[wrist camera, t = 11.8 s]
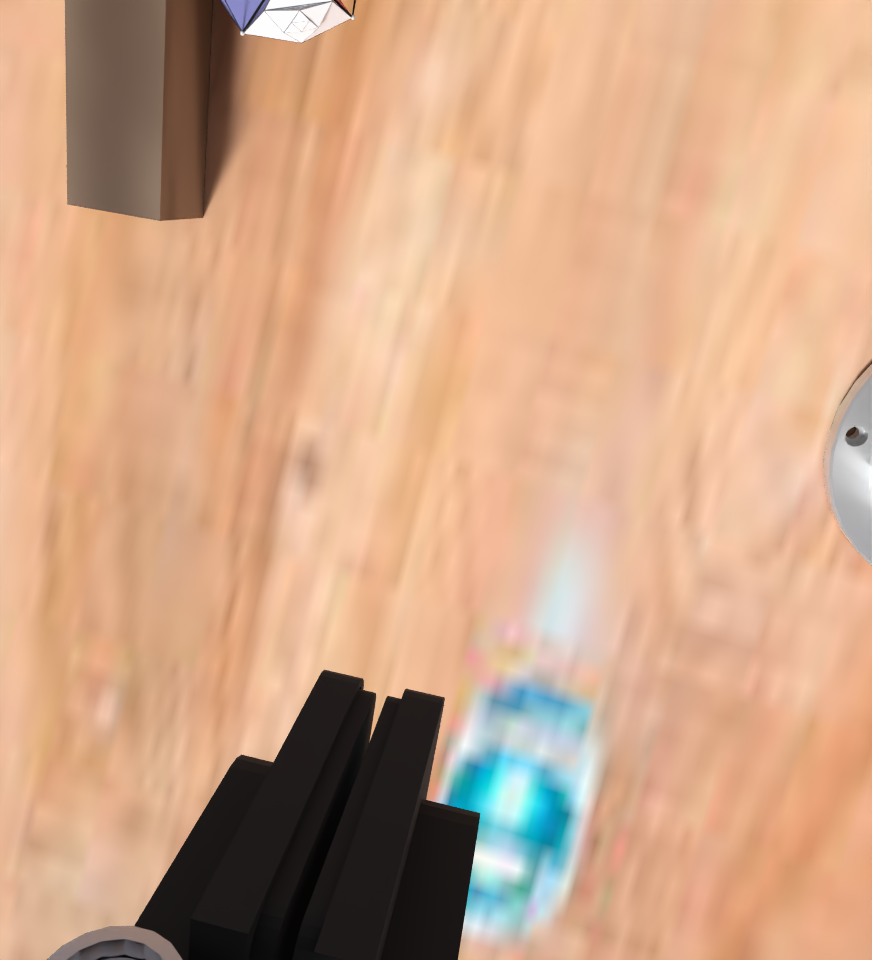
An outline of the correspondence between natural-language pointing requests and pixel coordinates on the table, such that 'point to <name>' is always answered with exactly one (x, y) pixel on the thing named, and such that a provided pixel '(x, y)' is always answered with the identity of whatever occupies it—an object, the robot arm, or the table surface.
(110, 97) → the block
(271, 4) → the geometric puzzle
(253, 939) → the robot arm
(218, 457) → the table surface
